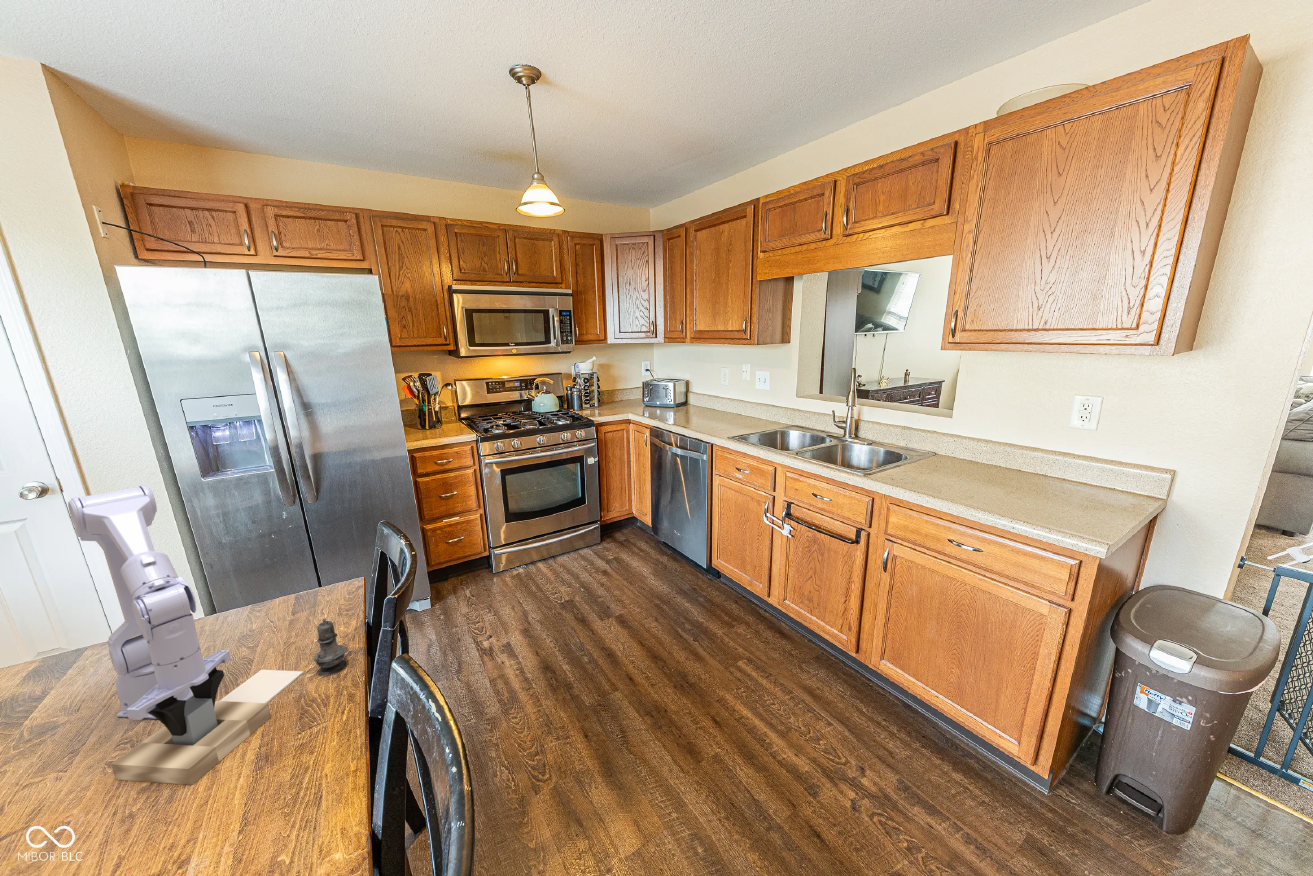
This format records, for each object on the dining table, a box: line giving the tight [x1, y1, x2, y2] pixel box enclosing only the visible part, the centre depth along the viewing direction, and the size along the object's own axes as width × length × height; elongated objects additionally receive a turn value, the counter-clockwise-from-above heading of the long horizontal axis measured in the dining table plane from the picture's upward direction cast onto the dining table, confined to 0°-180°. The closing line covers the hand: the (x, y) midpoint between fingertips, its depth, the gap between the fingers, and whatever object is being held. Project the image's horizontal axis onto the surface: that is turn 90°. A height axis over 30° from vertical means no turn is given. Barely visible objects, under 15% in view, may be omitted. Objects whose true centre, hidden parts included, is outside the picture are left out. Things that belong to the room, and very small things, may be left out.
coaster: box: [219, 669, 305, 704], centre depth 96 cm, size 10×10×1 cm
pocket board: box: [110, 700, 272, 786], centre depth 82 cm, size 14×14×3 cm
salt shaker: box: [313, 618, 348, 677], centre depth 101 cm, size 6×6×12 cm
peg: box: [172, 697, 218, 746], centre depth 81 cm, size 4×4×7 cm
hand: (193, 723), depth 81 cm, fingers closed on peg, 4 cm apart
